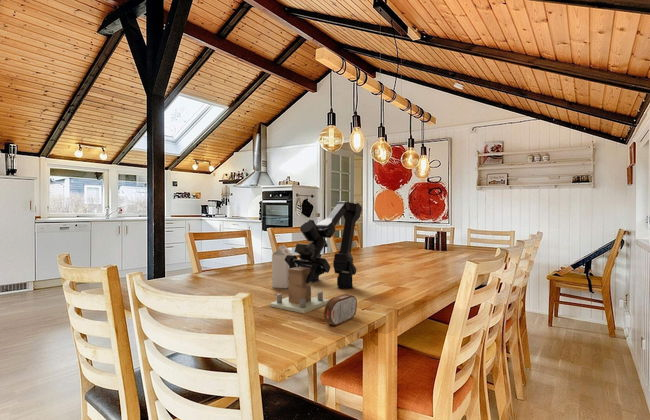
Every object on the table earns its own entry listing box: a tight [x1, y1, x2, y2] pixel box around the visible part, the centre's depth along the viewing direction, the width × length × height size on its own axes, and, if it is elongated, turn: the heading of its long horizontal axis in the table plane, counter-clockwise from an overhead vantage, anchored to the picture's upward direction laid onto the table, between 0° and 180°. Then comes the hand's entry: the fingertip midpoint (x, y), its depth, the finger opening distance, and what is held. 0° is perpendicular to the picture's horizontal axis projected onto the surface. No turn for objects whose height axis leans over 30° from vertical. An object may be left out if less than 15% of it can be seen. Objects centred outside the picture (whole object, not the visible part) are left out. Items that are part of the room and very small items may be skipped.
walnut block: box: [288, 267, 312, 304], centre depth 136 cm, size 6×6×12 cm
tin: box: [323, 293, 358, 326], centre depth 116 cm, size 15×3×8 cm, turn 141°
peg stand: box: [269, 291, 330, 314], centre depth 136 cm, size 16×16×4 cm
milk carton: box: [271, 244, 293, 289], centre depth 165 cm, size 7×7×19 cm
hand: (297, 281), depth 134 cm, fingers open, 8 cm apart
